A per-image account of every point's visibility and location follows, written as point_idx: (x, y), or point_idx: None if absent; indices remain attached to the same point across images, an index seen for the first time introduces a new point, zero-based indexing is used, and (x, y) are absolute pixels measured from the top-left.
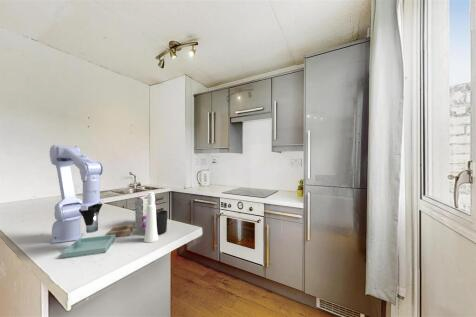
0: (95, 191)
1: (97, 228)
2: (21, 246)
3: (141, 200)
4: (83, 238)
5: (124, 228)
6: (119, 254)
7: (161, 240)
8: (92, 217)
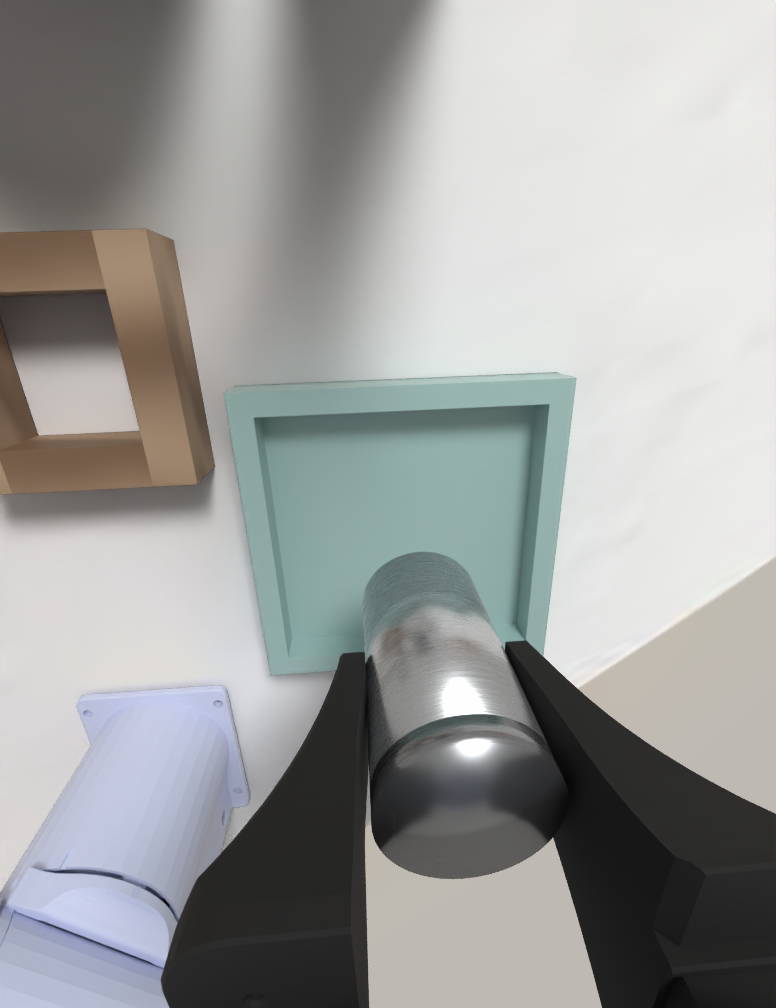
0: None
1: (433, 565)
2: None
3: None
4: (279, 644)
5: None
6: (650, 223)
7: None
8: (614, 719)
